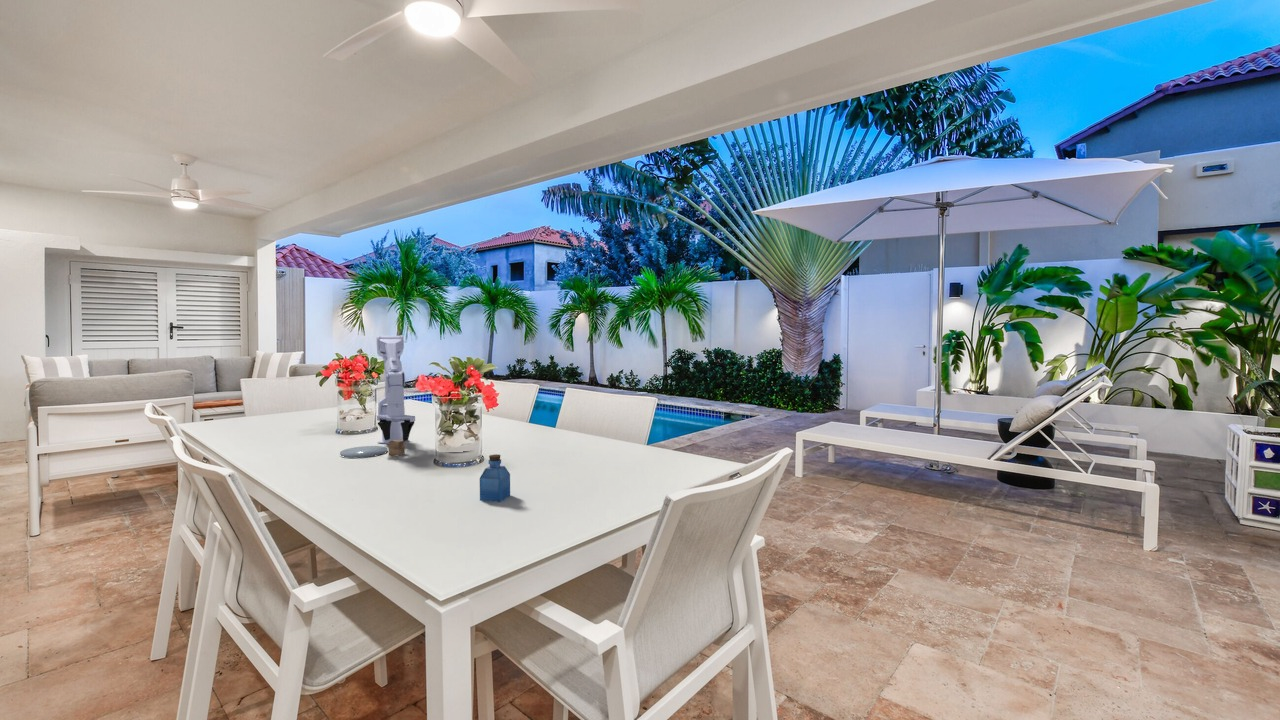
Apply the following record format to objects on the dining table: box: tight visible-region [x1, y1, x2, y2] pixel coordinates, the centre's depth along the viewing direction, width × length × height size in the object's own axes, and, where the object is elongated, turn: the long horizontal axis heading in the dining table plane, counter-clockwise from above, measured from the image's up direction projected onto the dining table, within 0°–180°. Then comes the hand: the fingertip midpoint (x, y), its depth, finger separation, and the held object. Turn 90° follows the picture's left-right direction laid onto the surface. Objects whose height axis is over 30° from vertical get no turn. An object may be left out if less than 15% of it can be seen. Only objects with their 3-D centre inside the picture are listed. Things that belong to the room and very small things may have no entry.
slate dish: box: [339, 445, 388, 458], centre depth 211 cm, size 16×16×1 cm
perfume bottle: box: [479, 453, 511, 503], centre depth 157 cm, size 6×6×12 cm
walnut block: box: [387, 440, 406, 456], centre depth 209 cm, size 4×4×5 cm
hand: (396, 440), depth 209 cm, fingers open, 7 cm apart
